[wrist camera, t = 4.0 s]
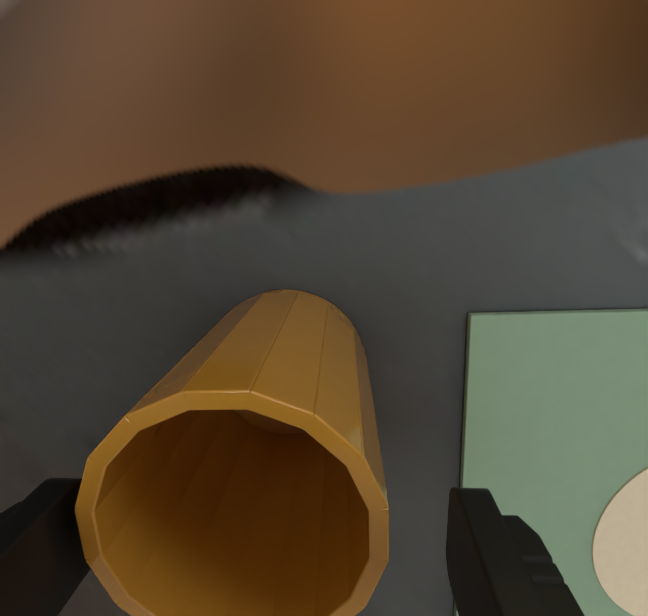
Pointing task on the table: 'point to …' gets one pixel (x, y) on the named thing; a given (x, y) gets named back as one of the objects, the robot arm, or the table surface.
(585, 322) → the mat
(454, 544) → the robot arm
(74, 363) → the table surface
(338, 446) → the cup
